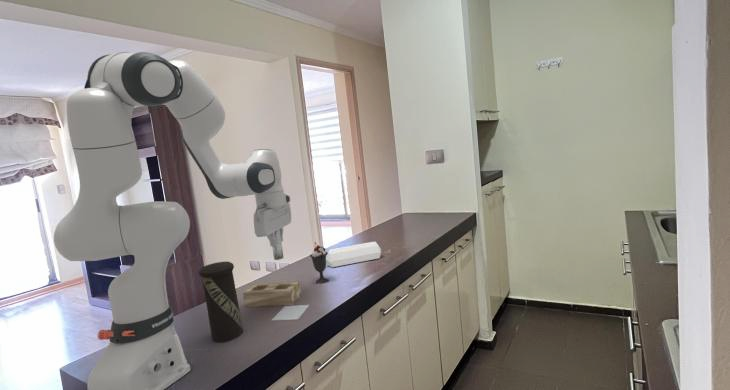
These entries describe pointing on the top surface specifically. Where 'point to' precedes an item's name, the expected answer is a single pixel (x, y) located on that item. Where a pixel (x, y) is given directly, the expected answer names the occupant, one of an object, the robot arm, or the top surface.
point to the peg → (278, 247)
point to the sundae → (319, 262)
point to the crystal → (353, 254)
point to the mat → (290, 312)
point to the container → (221, 301)
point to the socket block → (272, 294)
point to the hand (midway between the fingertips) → (277, 244)
